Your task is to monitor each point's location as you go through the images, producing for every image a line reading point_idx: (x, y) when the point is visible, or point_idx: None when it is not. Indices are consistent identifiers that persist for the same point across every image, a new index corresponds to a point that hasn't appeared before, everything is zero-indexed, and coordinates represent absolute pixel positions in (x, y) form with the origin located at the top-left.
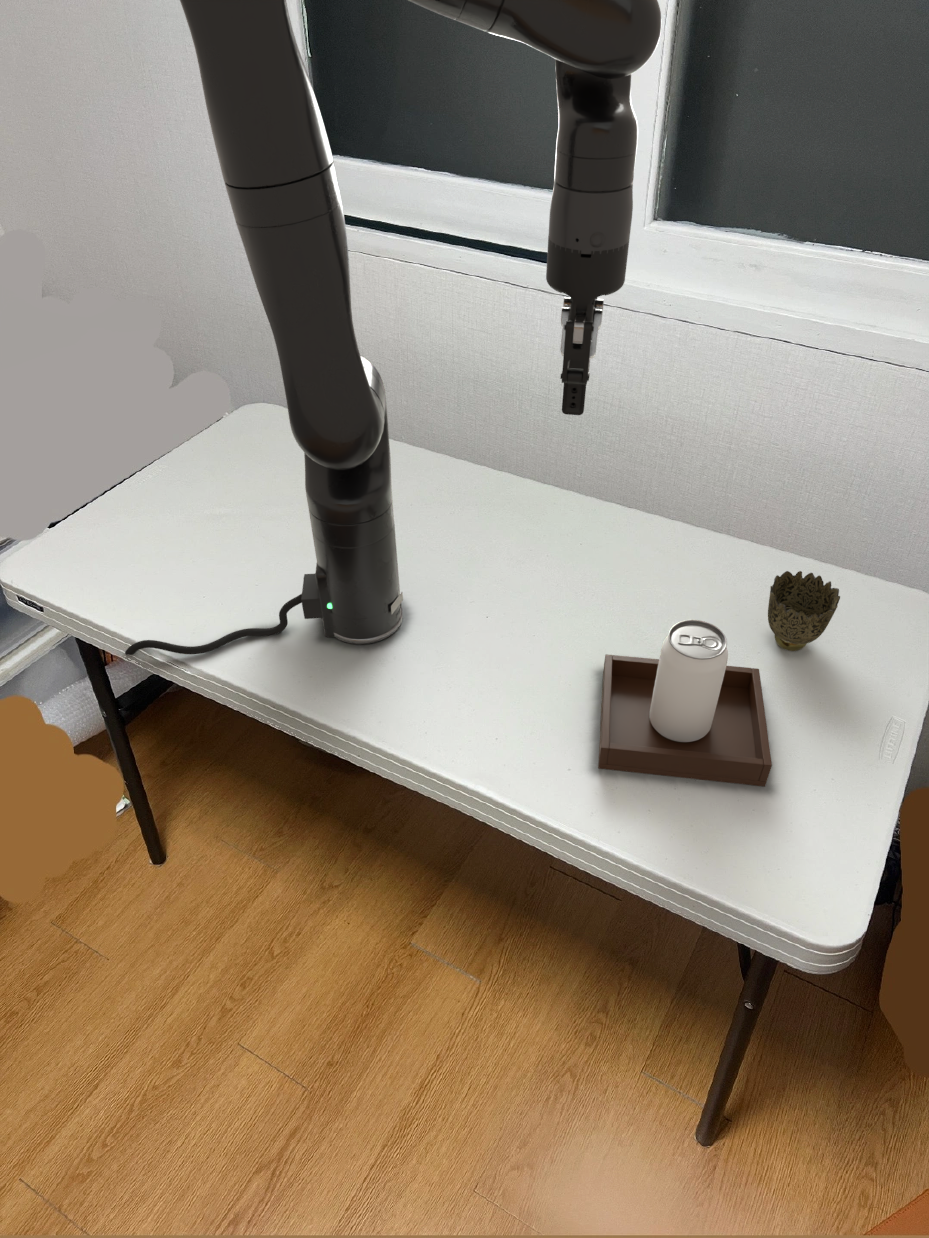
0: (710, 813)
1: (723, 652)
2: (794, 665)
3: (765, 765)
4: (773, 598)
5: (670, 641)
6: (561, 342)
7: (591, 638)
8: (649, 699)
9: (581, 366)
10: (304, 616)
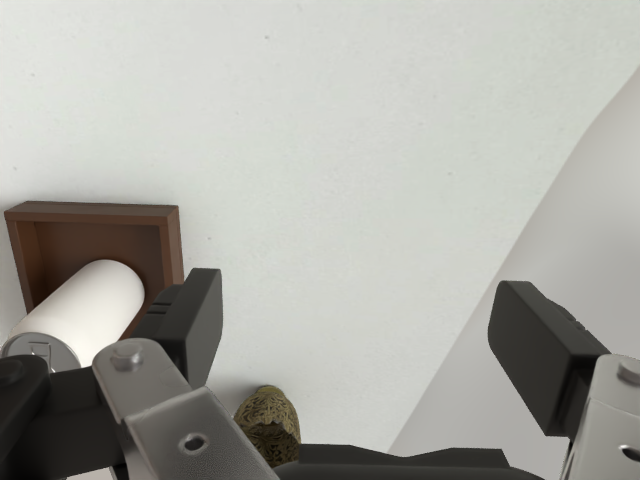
0: (8, 306)
1: None
2: (236, 396)
3: None
4: (249, 421)
5: (21, 334)
6: (142, 459)
7: (244, 191)
8: (138, 259)
9: (507, 338)
10: None
